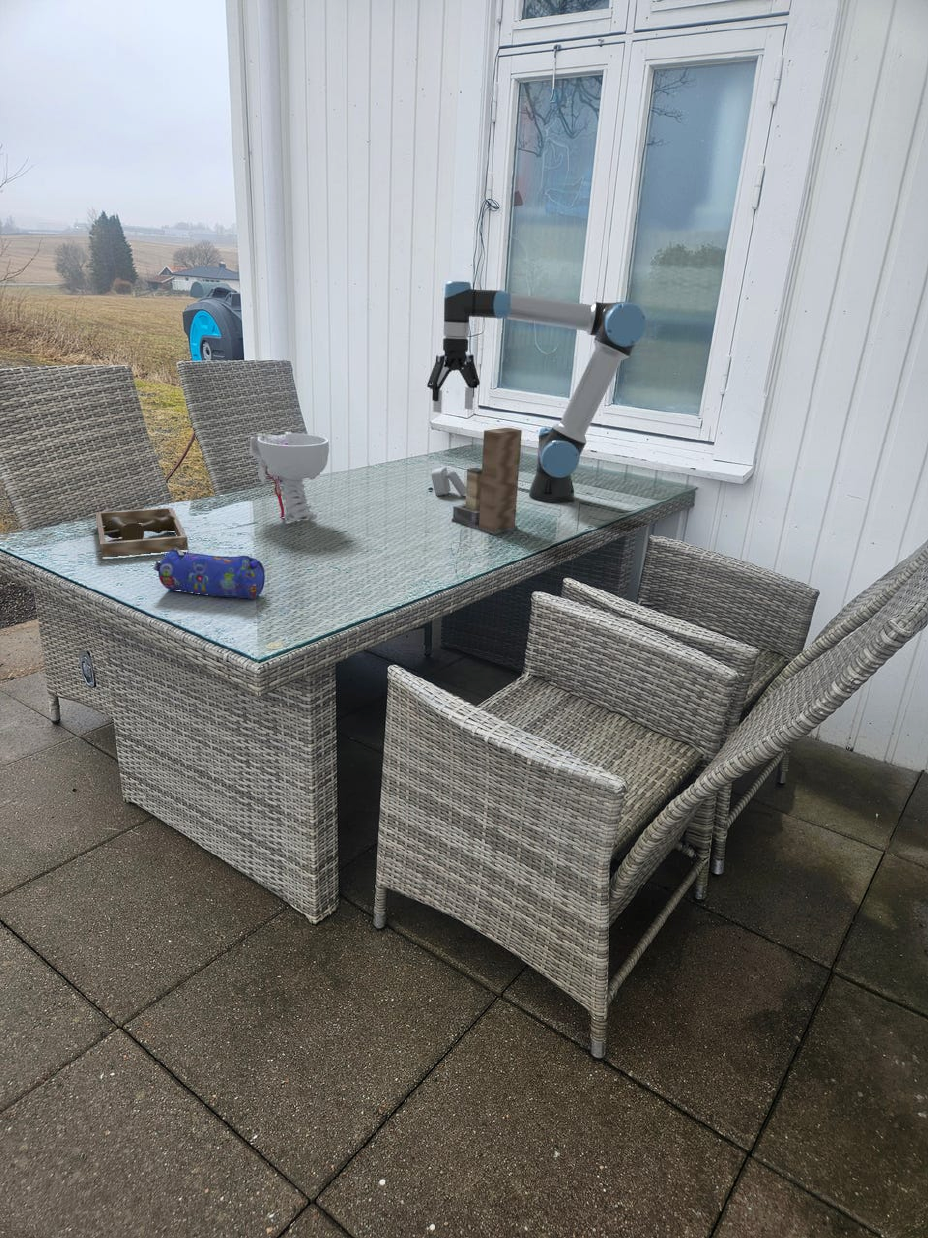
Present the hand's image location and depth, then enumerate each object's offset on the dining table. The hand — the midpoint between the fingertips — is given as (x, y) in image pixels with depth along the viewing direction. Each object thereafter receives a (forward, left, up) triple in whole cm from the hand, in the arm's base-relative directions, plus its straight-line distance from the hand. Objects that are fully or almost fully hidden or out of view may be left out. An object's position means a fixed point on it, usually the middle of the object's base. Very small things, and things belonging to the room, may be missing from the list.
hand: (453, 410), depth 239 cm
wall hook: (-4, -8, -29) cm, 30 cm away
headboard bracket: (+2, +28, -29) cm, 40 cm away
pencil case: (+83, +58, -29) cm, 106 cm away
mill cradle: (+94, +14, -29) cm, 99 cm away
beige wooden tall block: (+3, +24, -28) cm, 37 cm away
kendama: (+95, +14, -29) cm, 100 cm away
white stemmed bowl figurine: (+53, +5, -29) cm, 61 cm away
